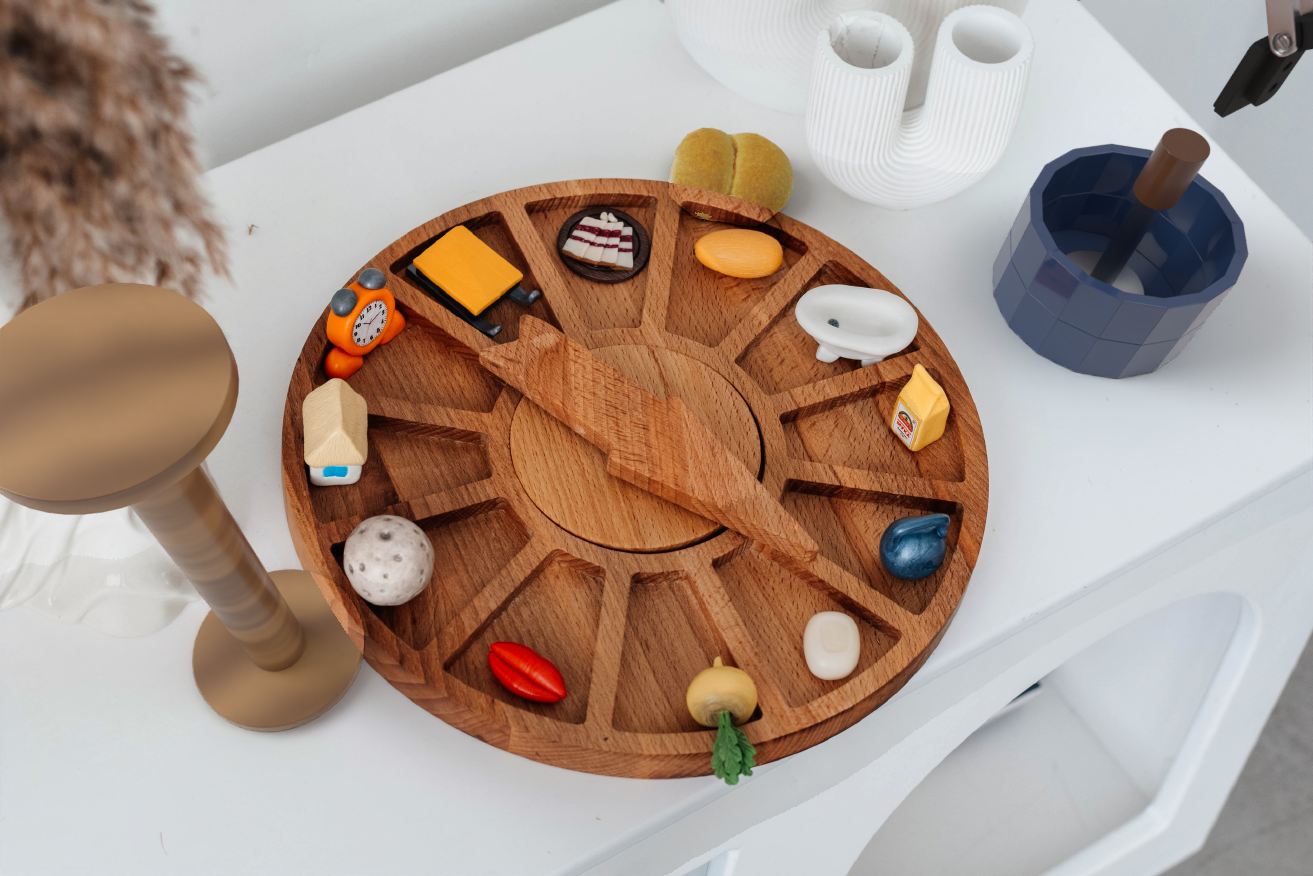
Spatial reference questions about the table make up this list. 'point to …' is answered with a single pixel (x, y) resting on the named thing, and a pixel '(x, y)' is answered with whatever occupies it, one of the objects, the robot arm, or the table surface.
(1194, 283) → the pot
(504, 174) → the table surface
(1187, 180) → the masher
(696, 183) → the bread roll
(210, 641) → the cake stand
